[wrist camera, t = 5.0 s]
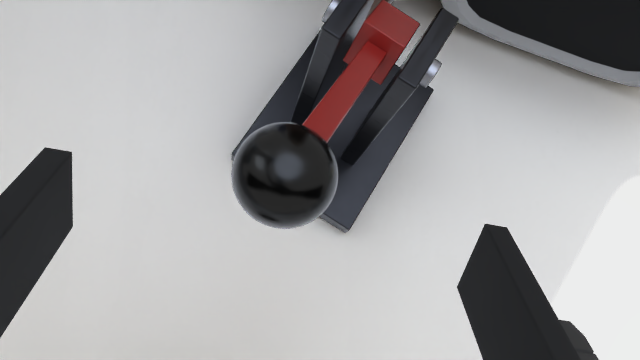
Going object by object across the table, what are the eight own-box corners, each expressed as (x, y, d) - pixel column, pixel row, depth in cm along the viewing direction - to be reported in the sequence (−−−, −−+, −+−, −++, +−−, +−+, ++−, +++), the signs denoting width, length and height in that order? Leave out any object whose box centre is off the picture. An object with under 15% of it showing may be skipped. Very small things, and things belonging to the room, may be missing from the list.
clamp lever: (288, 267, 18) (332, 208, 16) (199, 209, 18) (228, 141, 16) (402, 76, 28) (439, 21, 26) (344, 38, 28) (376, -20, 26)
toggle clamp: (345, 233, 36) (414, 183, 23) (230, 159, 36) (233, 66, 23) (427, 96, 39) (529, -16, 26) (324, 29, 39) (373, -117, 26)
